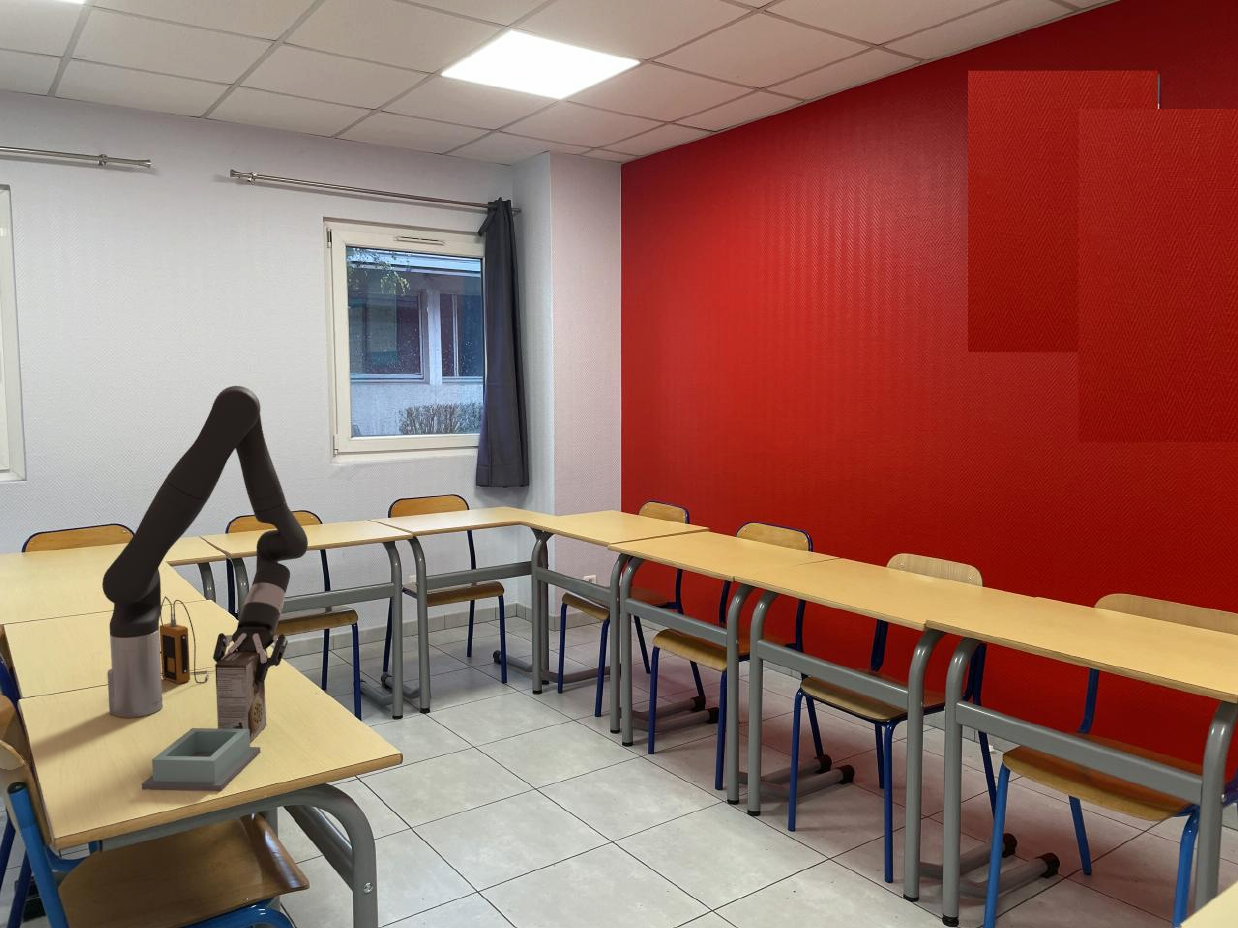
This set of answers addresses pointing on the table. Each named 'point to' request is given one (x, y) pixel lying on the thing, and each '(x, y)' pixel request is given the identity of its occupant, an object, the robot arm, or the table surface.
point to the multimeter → (176, 650)
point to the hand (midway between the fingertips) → (239, 682)
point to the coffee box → (240, 693)
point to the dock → (202, 760)
